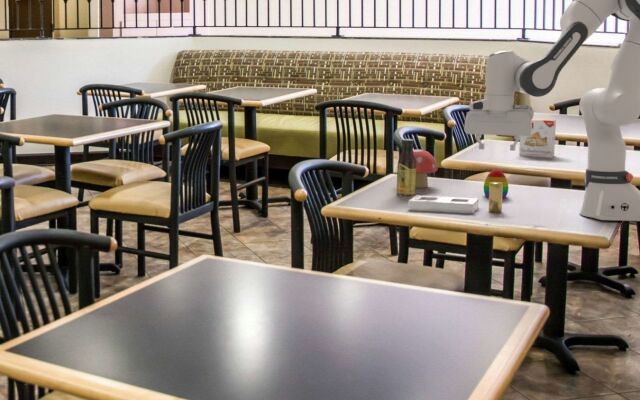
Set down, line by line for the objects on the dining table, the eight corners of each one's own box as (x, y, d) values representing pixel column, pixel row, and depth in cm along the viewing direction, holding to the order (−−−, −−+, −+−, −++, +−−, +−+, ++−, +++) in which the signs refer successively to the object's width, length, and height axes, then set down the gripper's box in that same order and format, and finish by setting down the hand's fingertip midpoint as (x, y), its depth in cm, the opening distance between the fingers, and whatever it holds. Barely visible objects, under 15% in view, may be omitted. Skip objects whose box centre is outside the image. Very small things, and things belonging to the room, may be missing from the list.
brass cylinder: (502, 211, 289) (503, 182, 287) (500, 213, 285) (502, 184, 284) (489, 210, 290) (490, 181, 289) (487, 212, 286) (488, 183, 285)
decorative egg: (502, 201, 307) (503, 171, 306) (479, 199, 312) (480, 169, 310) (511, 198, 314) (512, 169, 313) (488, 196, 319) (489, 167, 317)
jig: (478, 207, 295) (478, 198, 295) (472, 213, 284) (473, 204, 283) (416, 204, 301) (416, 195, 300) (408, 210, 290) (408, 200, 289)
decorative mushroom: (390, 191, 328) (391, 149, 326) (415, 188, 337) (416, 146, 335) (420, 196, 319) (421, 152, 316) (444, 192, 328) (445, 149, 325)
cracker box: (518, 168, 397) (520, 119, 394) (521, 166, 403) (522, 118, 399) (551, 170, 392) (553, 120, 389) (553, 168, 397) (556, 119, 394)
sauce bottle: (393, 197, 316) (394, 138, 313) (410, 196, 318) (411, 138, 315) (401, 199, 310) (402, 140, 307) (418, 199, 312) (419, 139, 309)
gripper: (534, 104, 282) (532, 150, 285) (467, 103, 289) (465, 147, 291) (532, 105, 276) (530, 152, 279) (464, 104, 283) (462, 149, 285)
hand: (497, 149), depth 285 cm, fingers open, 8 cm apart
